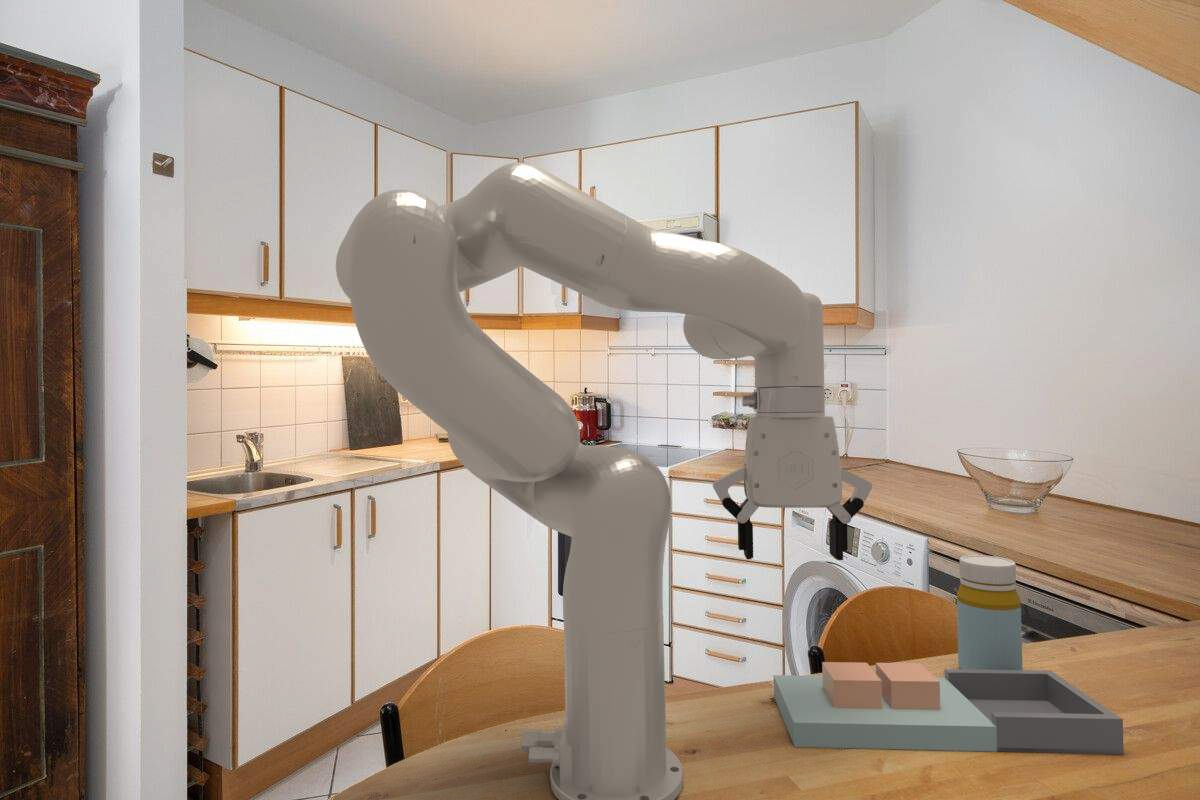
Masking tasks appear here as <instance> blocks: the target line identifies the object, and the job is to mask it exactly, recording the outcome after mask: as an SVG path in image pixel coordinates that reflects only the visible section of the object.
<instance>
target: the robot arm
mask: <svg viewBox="0 0 1200 800" xmlns="http://www.w3.org/2000/svg"><path fill="white" fill-rule="evenodd" d="M335 259H336V261H335V273H336V278H337V281H338V284H339V286H340V288H341V290H342V291H343V293H344V295H345V296H346V297H347V298H348V299H349V300H350V305H351V311H352V317H353V319H354V323H355V325H356V326H355V327H356V330H357V332H358V335H359V338H360V341H361V342H362V345H363V347H364V350H365V351H366V354H367V355H368V357H369V359H370V361H371V362H372V363H373V366H375V369H376V370H377V371H378V372H379V374H380V375H381V376H382V377H383V378H384V379H385V380H386V382H387V383H388V384H389V385H390V386H391V387H392V388H393V389H394V390H395V391H396V392H397V393H398V394H400V395H401V396H402V397H403V398H404V399H406V400H407V401H408V402H409V403H410V404H412V405H413V406H414V407H415V408H416V409H418V410H419V411H420V412H422V413H423V414H424V415H426V416H427V417H428V418H429V419H430V420H431V421H433V422H434V423H435V424H437V426H439V427H440V428H441V429H442V430H443V431H445V432H446V434H447V440H448V445H449V447H450V448H451V450H452V453H453V455H454V456H455V457H456V459H457V461H459V462H460V464H461V465H462V466H464V468H465V469H467V471H468V472H470V473H471V474H472V475H474V476H475V477H476V478H478V479H479V480H480V481H482V482H483V483H485V484H486V485H487V486H488V487H490V488H491V489H493V490H494V491H496V492H497V493H498V494H499V495H501V496H503V497H504V498H505V499H507V500H508V501H509V502H510V503H512V504H513V505H515V506H516V507H517V508H519V509H521V511H523V512H525V513H526V514H528V515H529V516H530V517H532V518H533V519H534V520H536V521H538V522H539V523H540V524H542V525H544V526H546V527H547V528H549V529H551V530H554V531H556V532H558V533H560V534H563V535H566V536H568V537H571V543H570V548H569V549H570V550H569V555H568V559H567V562H566V567H565V572H564V578H563V586H562V587H563V588H562V619H563V655H564V656H563V657H564V659H563V660H564V703H565V705H564V706H565V710H564V711H565V723H564V726H563V727H555V728H554V731H544V730H543V731H542V730H541V729H523V730H522V733H521V742H520V750H521V752H522V753H528V763H529V764H544V763H545V764H546V763H547V764H548V763H549V764H551V767H550V773H549V775H550V777H549V780H550V781H549V782H550V788H551V791H552V793H553V795H554V796H555V797H556V798H557V799H558V800H676V798H677V797H678V796H679V795H680V793H681V792H682V788H683V785H684V768H683V764H682V763H681V761H680V759H679V758H678V756H677V755H676V754H675V753H674V752H673V751H672V750H671V749H669V748H667V726H666V725H667V724H666V723H667V722H666V682H665V681H666V678H665V675H666V674H665V673H666V672H665V638H664V637H665V631H664V630H665V629H664V628H665V627H664V623H665V622H664V600H663V599H664V596H663V595H664V593H663V592H664V591H663V590H664V589H663V587H664V586H663V585H664V584H663V582H664V562H665V561H664V559H665V552H666V543H667V537H668V532H669V527H670V520H671V511H672V504H671V503H672V501H671V500H672V499H671V493H670V488H669V485H668V482H667V479H666V478H665V476H664V474H663V472H662V471H661V469H660V468H659V467H658V466H657V464H655V462H653V461H652V460H651V459H650V458H648V457H647V456H645V455H644V454H641V453H640V452H637V451H635V450H631V449H629V448H623V447H617V446H608V445H607V446H606V445H587V444H584V443H581V441H580V440H581V432H580V426H579V422H578V419H577V416H576V415H575V413H574V411H573V409H572V408H571V406H570V405H569V404H568V403H567V402H566V400H565V399H564V398H563V397H562V396H561V395H560V394H558V393H557V392H556V391H555V390H554V389H553V388H551V387H549V385H547V384H546V383H545V382H544V381H542V380H541V379H540V378H538V377H537V376H536V375H535V374H534V373H532V372H531V371H530V370H528V369H527V368H526V367H525V366H523V364H521V363H520V362H518V361H517V359H515V358H514V357H512V356H511V355H510V354H509V353H508V352H506V351H505V350H504V349H503V348H501V346H499V345H498V344H497V343H496V342H495V341H494V340H493V339H492V337H490V336H489V335H488V334H487V333H486V332H485V331H483V330H482V329H481V328H480V327H479V326H478V325H477V324H476V322H475V320H473V318H472V317H471V316H470V314H469V312H468V311H467V309H466V307H465V305H464V303H463V299H462V297H461V294H460V293H463V292H465V291H467V290H470V289H473V288H475V287H477V286H480V285H483V284H485V283H487V282H490V281H492V280H495V279H497V278H500V277H501V276H505V275H506V274H509V273H511V272H513V271H515V270H516V269H519V268H521V267H522V268H525V269H527V270H530V271H532V272H534V273H536V274H538V275H540V276H542V277H544V278H547V279H549V280H551V281H553V282H556V283H558V284H560V285H562V286H563V287H566V288H568V289H570V290H572V291H575V292H576V293H579V294H581V295H583V296H585V297H587V298H588V299H591V300H594V301H595V302H597V303H599V304H601V305H604V306H607V307H608V308H613V309H617V310H623V311H629V312H638V313H639V312H640V313H673V314H682V315H684V319H683V322H682V323H683V325H682V326H683V327H682V328H683V329H682V330H683V335H684V338H685V340H686V342H687V343H688V345H689V346H690V348H692V349H693V350H694V351H695V352H696V353H697V354H699V355H700V356H703V357H705V358H708V359H711V360H722V361H723V360H730V359H740V358H746V357H752V358H753V359H754V388H755V389H754V390H753V392H751V393H748V394H742V395H741V405H742V407H748V408H751V409H752V410H753V411H754V412H755V415H754V416H753V417H749V420H748V424H747V430H746V438H745V448H744V465H743V466H741V467H740V468H737V469H735V470H733V471H732V472H730V473H728V474H726V475H724V476H722V477H720V478H718V479H717V480H715V481H713V483H712V489H713V490H714V492H715V494H716V495H717V497H718V499H719V501H720V503H721V504H722V506H723V508H724V509H725V510H726V511H727V512H728V513H730V515H731V516H733V518H735V520H737V546H738V550H739V551H743V555H744V557H745V559H746V560H752V559H754V527H753V526H754V525H753V523H752V522H751V517H752V516H753V515H754V514H755V512H756V511H757V510H758V508H759V507H760V508H768V509H769V508H776V509H777V508H779V509H781V508H782V509H785V508H787V509H788V508H789V509H790V508H791V509H792V508H793V509H797V508H798V509H800V508H801V509H802V508H803V509H805V508H806V509H808V508H809V509H810V508H811V509H812V508H815V509H817V508H822V509H823V508H826V509H827V511H829V512H830V514H831V515H832V516H831V517H832V518H831V519H830V520H829V521H828V522H829V523H828V528H829V529H828V531H829V533H828V534H829V535H828V536H829V538H828V539H829V554H830V555H831V556H832V557H833V558H834V559H835V560H836V561H844V552H848V548H849V546H848V545H849V543H848V524H849V523H850V522H851V520H852V518H853V517H854V516H855V515H856V514H857V513H859V512H860V510H862V508H863V507H864V504H865V502H866V500H867V499H868V497H869V495H870V493H871V491H872V489H873V484H872V482H870V481H868V480H866V479H865V478H862V477H861V476H858V475H857V474H854V473H852V472H850V471H848V470H846V469H844V468H843V467H841V458H840V449H839V441H838V435H837V429H836V425H835V420H834V417H833V416H829V415H828V416H827V415H826V413H825V411H826V407H825V406H826V405H825V404H826V403H825V402H826V401H825V399H826V397H825V360H824V356H825V355H824V353H825V352H824V351H825V350H824V348H825V347H824V307H823V303H822V301H821V299H820V298H819V296H817V295H815V294H814V293H809V292H805V291H804V292H803V291H802V290H801V289H800V287H799V285H797V284H796V283H795V282H794V281H793V280H792V278H789V276H787V275H786V274H784V273H783V272H781V271H780V270H778V269H776V268H775V267H773V266H771V265H770V264H769V263H766V262H765V261H763V260H761V259H760V258H758V257H756V256H754V255H752V254H751V253H748V252H746V251H743V250H741V249H739V248H736V247H733V246H730V245H727V244H723V243H719V242H716V241H712V240H707V239H701V238H698V237H693V236H691V235H690V236H688V235H685V234H682V233H676V232H673V231H666V230H661V229H655V228H653V227H650V226H647V225H646V224H645V225H644V224H642V223H641V222H639V221H637V220H635V219H634V218H632V217H630V216H628V215H626V214H624V212H623V213H622V212H620V211H619V210H617V209H615V208H613V207H611V206H610V205H608V204H606V203H605V202H602V200H601V201H600V200H599V199H597V198H595V197H593V196H592V195H590V194H588V193H586V192H585V191H583V190H581V189H580V188H578V187H576V186H574V185H572V184H570V183H568V182H566V181H565V180H563V179H561V178H559V177H557V176H556V175H554V174H552V173H550V172H549V171H546V170H545V169H542V168H541V167H539V166H536V165H533V164H530V163H526V162H511V163H506V164H505V165H502V166H500V167H498V168H497V169H495V170H493V171H491V173H489V174H488V175H486V176H485V177H484V178H483V179H482V180H481V181H479V183H478V184H477V185H475V187H474V188H473V189H472V190H471V191H469V193H468V194H467V195H465V196H463V197H460V198H458V199H456V200H453V201H451V202H448V203H445V204H442V205H438V203H436V202H435V201H434V200H432V199H431V198H429V197H428V196H426V195H424V194H422V193H420V192H418V191H416V190H414V191H413V190H410V189H393V190H387V191H385V192H382V193H380V194H378V195H376V196H375V197H373V198H372V199H370V200H369V201H368V202H367V203H366V204H364V205H363V207H362V208H361V209H360V211H359V212H358V213H357V214H356V215H355V217H354V219H353V220H352V222H351V224H350V226H349V228H348V230H347V232H346V234H345V236H344V237H343V239H342V241H341V242H340V245H339V248H338V251H337V254H336V257H335ZM742 481H743V489H744V491H743V492H744V495H745V497H746V498H745V499H744V500H743V502H741V504H740V505H739V504H738V503H737V502H736V501H735V500H733V499H732V497H731V495H730V494H729V489H730V488H731V487H733V486H735V485H736V484H739V483H740V482H742ZM842 482H844V483H846V484H848V485H850V486H852V487H853V492H852V495H851V496H850V497H849V498H848V499H847V500H846V501H845V502H844V503H843V505H842V504H841V501H842V499H843V483H842Z"/></svg>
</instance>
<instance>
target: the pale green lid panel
mask: <svg viewBox="0 0 1200 800" xmlns="http://www.w3.org/2000/svg"><path fill="white" fill-rule="evenodd" d="M772 676H773V677H772V678H773V697H774V699H775V702H776V705H777V707H778V710H779V712H780V715H781V716H782V720H783V721H784V722H783V723H784V725H785V727H786V729H787V732H788V735H789V736H790V739H791V742H792V744H793V747H794V748H827V749H829V748H830V749H831V748H833V749H869V750H870V749H871V750H874V749H875V750H880V749H881V750H909V751H910V750H911V751H912V750H913V751H916V750H918V751H921V750H922V751H951V752H952V751H957V752H958V751H961V752H966V751H967V752H997V727H996V726H995V725H994V724H993V723H992V722H991V721H990V720H989V719H988V718H987V717H986V716H985V715H984V714H983V713H982V712H980V711H979V710H978V709H977V708H976V707H975V706H974V705H973V704H972V703H971V702H970V701H969V700H968V699H967V698H966V697H965V696H964V695H963V694H961V693H960V692H959V691H958V690H957V689H956V688H955V687H954V686H953V685H952V684H951V683H950V682H949V681H948V680H947V679H946V678H945V677H939V676H938V677H937V676H934V677H935V678H936V679H937V680H938V681H939V682H940V710H919V709H891V707H890V706H889V705H888V703H887V702H886V701H885V699H884V698H883V697H882V709H864V708H834V706H833V705H832V703H831V701H830V699H829V698H828V696H827V694H826V693H825V691H824V689H823V675H793V674H791V675H790V674H788V675H787V674H781V675H780V674H773V675H772Z"/></svg>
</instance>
